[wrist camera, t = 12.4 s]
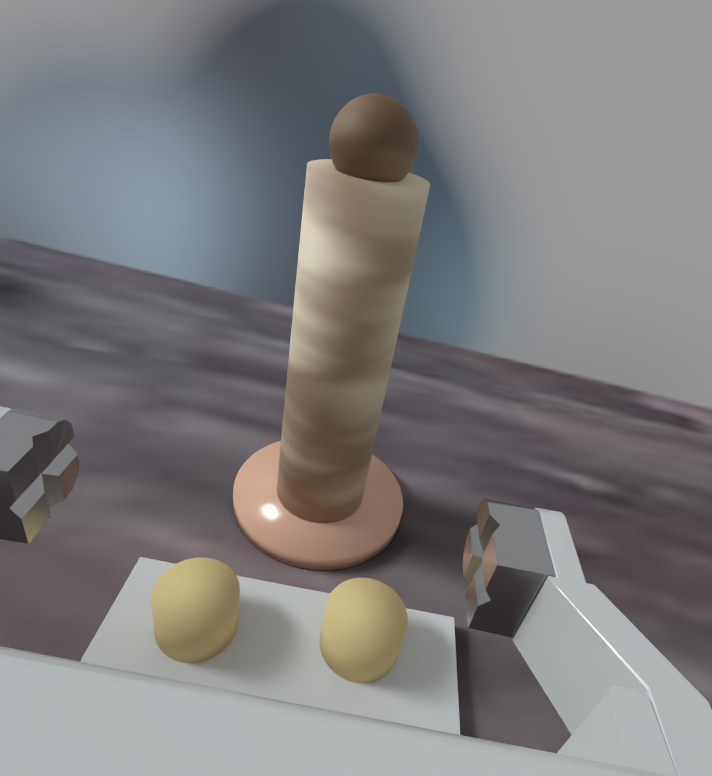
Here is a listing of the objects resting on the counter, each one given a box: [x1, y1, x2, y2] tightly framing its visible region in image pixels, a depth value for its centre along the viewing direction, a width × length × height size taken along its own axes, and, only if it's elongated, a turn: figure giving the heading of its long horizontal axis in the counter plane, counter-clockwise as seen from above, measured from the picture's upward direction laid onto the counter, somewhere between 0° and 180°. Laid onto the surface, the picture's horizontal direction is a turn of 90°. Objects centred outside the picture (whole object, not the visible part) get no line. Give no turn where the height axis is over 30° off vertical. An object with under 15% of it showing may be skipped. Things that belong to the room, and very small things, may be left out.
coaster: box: [233, 441, 403, 570], centre depth 28 cm, size 9×9×1 cm
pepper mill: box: [277, 94, 430, 523], centre depth 23 cm, size 5×5×19 cm
